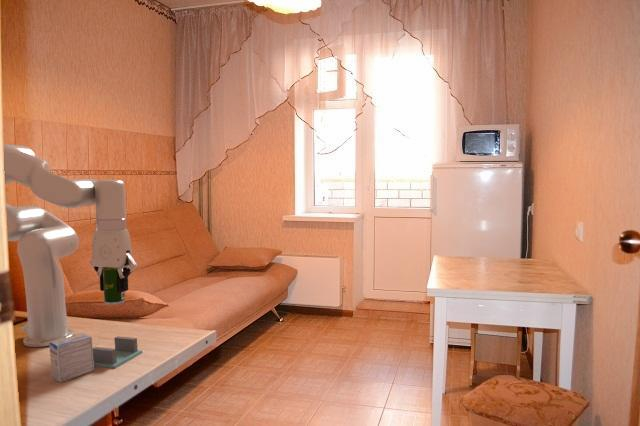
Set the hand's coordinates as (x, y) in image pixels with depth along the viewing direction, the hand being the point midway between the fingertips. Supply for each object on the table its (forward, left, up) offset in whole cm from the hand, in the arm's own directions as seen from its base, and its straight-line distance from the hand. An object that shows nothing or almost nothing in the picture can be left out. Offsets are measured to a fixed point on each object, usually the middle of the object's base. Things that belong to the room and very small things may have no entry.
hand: (114, 289), depth 134 cm
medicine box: (+6, -21, -15) cm, 27 cm away
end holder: (+9, -11, -14) cm, 20 cm away
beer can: (0, 0, -4) cm, 4 cm away
